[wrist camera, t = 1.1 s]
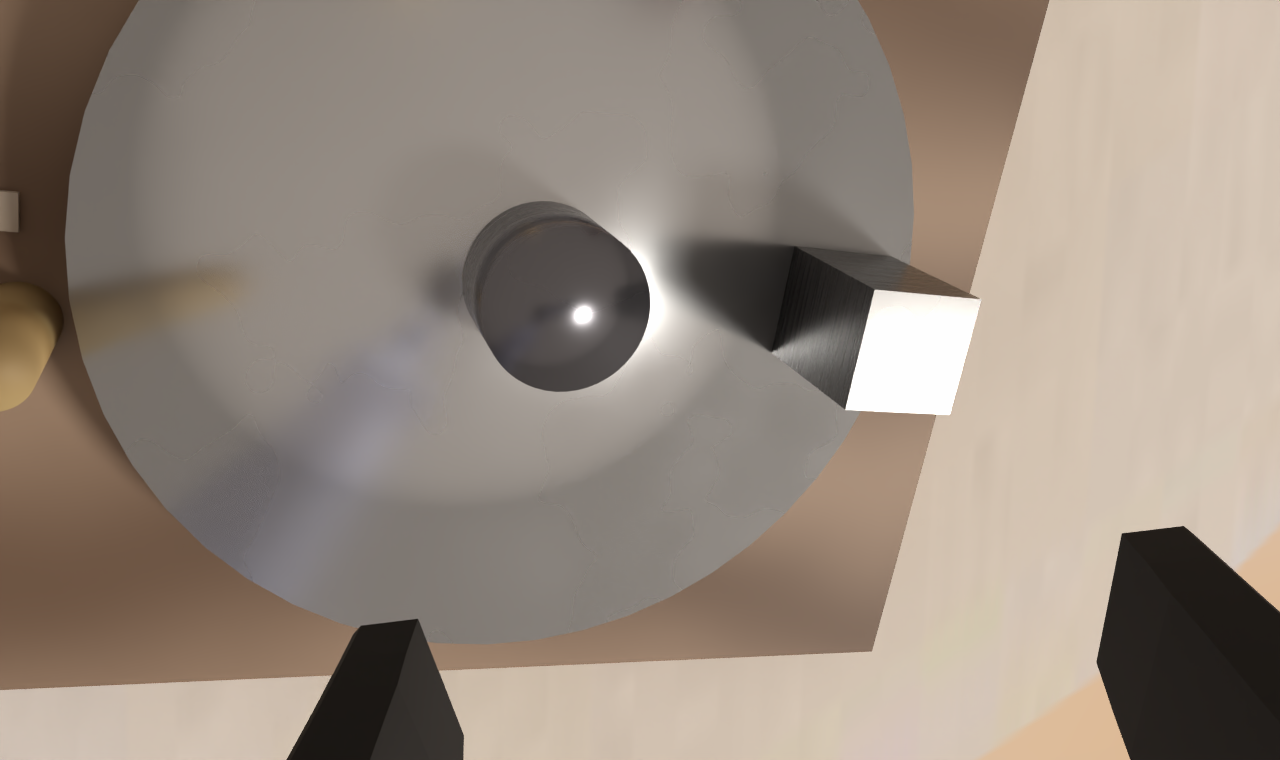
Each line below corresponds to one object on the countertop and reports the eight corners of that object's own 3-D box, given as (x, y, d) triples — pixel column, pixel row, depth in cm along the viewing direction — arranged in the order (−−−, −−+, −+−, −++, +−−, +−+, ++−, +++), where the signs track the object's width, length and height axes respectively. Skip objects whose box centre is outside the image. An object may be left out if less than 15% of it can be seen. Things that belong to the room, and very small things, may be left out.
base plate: (840, 616, 26) (929, 715, 23) (-67, 644, 20) (-135, 790, 16) (1037, -141, 21) (1189, -158, 18) (-110, -454, 14) (-223, -578, 11)
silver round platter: (793, 601, 24) (889, 716, 20) (74, 619, 19) (32, 775, 15) (981, -173, 19) (1150, -201, 15) (81, -425, 14) (23, -552, 10)
